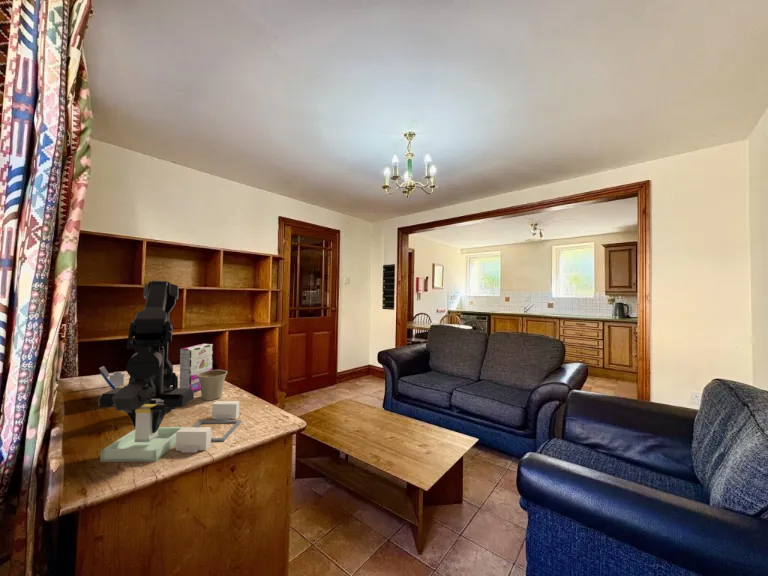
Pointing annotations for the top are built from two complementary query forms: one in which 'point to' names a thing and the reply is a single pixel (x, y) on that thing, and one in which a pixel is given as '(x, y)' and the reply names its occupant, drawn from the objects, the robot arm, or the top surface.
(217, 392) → the flower pot
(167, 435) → the tray
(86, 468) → the top surface
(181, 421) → the top surface
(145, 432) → the yellow-capped grey block
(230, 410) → the headphones
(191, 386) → the candy bar box
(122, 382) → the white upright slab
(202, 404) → the top surface
